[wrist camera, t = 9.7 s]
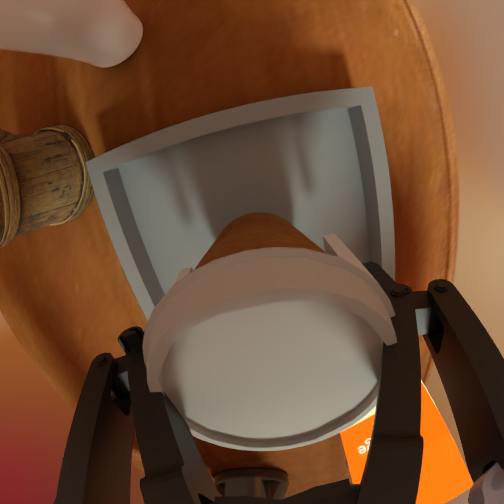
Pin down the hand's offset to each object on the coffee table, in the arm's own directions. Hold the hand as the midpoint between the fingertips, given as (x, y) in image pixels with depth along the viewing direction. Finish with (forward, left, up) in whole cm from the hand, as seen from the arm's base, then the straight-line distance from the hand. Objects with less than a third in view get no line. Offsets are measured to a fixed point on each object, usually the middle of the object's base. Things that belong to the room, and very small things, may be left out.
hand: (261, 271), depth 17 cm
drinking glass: (+20, +7, -5) cm, 22 cm away
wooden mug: (+13, +16, -6) cm, 21 cm away
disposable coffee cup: (0, 0, -3) cm, 3 cm away
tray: (0, 0, -5) cm, 5 cm away
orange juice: (-18, -9, -6) cm, 21 cm away
